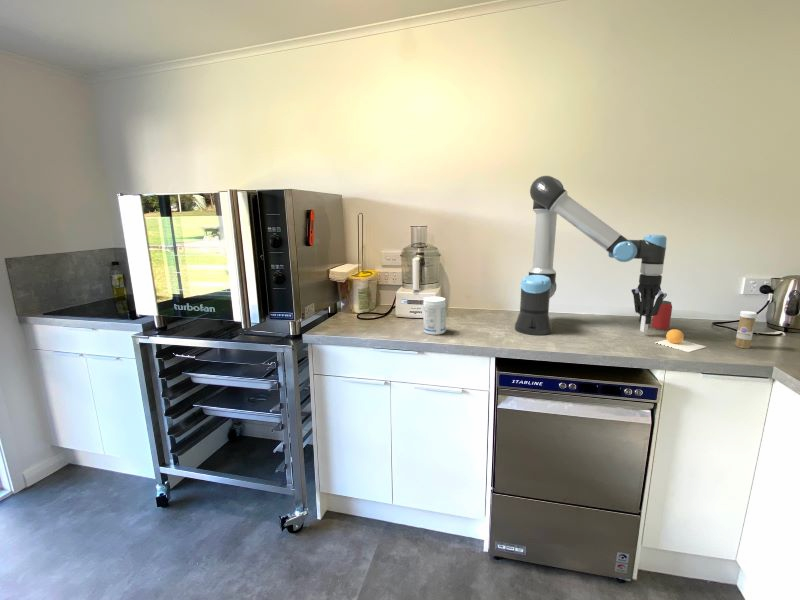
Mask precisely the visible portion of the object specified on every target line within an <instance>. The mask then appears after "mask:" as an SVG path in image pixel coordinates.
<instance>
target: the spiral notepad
mask: <svg viewBox="0 0 800 600" xmlns="http://www.w3.org/2000/svg"><path fill="white" fill-rule="evenodd" d="M656 343H658V344H657V345H660V344H661V345H660V346H664V345H665V347H667V346H669V347H668V348H671V347H672V348H671V349H675V350H678V349H679V351H683V352H686V353H691V352H694V351H697V350H698V351H699V350H701V349H704V348H707V346H706V345H702V344H698V343H697V344H696V343H693V342H690V341H686V340H683V341H682V342H680V343H677V344H674V343H671V342H669V341H668V340H667V339H663V340H659V341H655V342H654V344H656Z"/></svg>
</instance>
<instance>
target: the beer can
mask: <svg viewBox="0 0 800 600" xmlns="http://www.w3.org/2000/svg"><path fill="white" fill-rule="evenodd" d="M672 311H673V304H672V301H669V300H663V301H662V304H661V306H660V309H659V311H658V314H657V315H655V316H652V317H651V328H653V329H654V328H655V330H658V329H660V331H666V330H668V331H669V330H670V326H671V325H670V324H671V319H672V313H673V312H672Z"/></svg>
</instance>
